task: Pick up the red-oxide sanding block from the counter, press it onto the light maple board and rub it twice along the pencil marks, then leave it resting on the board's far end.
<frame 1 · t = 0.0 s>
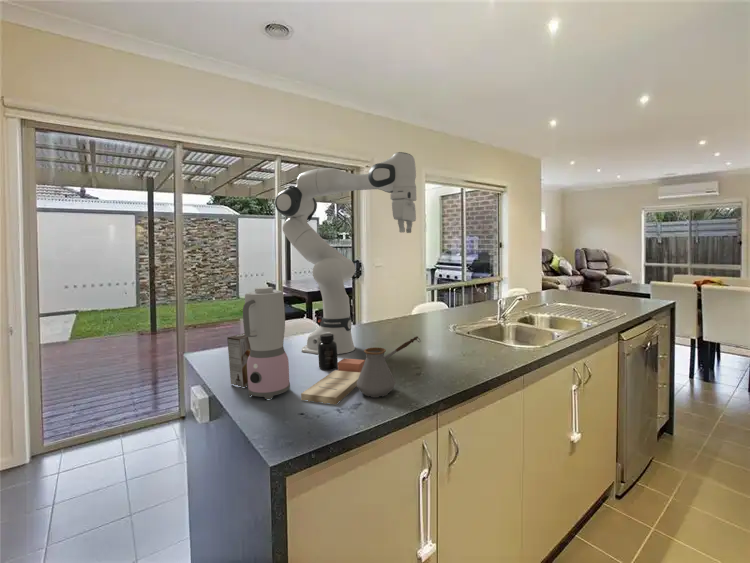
hand: (405, 232, 153), 48 cm above the counter, tool pointing down, fingers open, 8 cm apart
coffee pot: (390, 389, 120), on the counter
maple board: (335, 388, 122), on the counter
coffee box: (248, 383, 129), on the counter
supplement bottle: (328, 368, 144), on the counter
sanding block: (351, 374, 136), on the counter
blender: (266, 395, 118), on the counter
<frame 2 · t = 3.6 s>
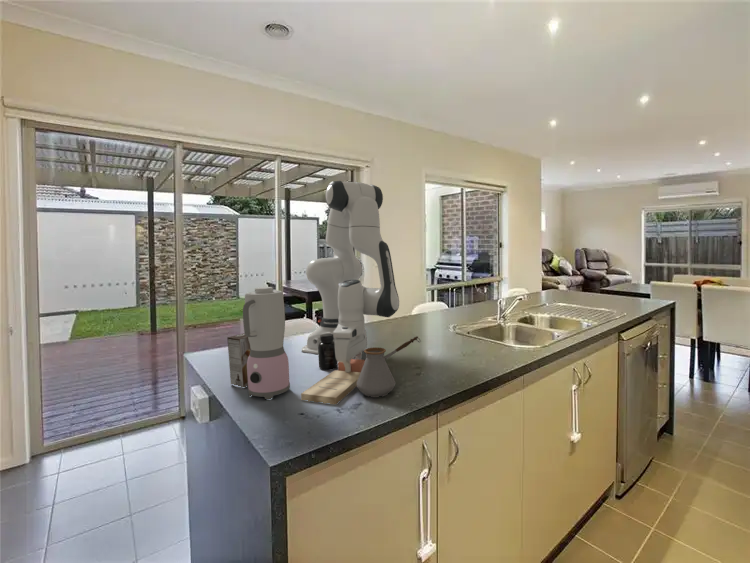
hand: (353, 368, 135), 2 cm above the counter, tool pointing down, fingers open, 7 cm apart
nothing on the counter moved.
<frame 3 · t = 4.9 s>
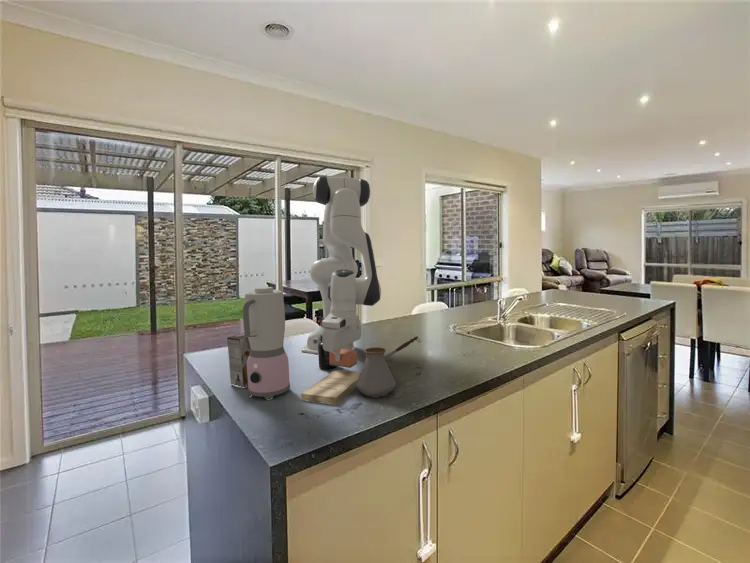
hand: (343, 357, 135), 6 cm above the counter, tool pointing down, fingers closed on sanding block, 5 cm apart
sanding block: (343, 364, 136), point 3 cm above the counter, touching gripper
everything else where it was.
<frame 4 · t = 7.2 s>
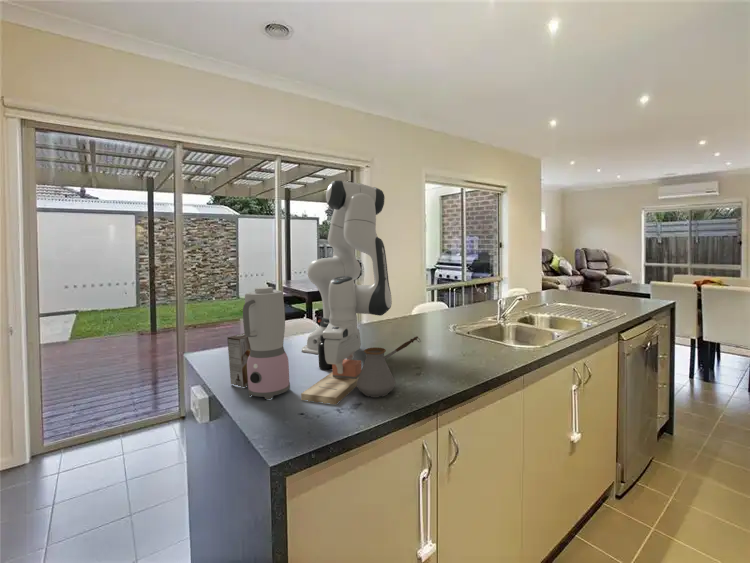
hand: (345, 369, 128), 4 cm above the counter, tool pointing down, fingers closed on sanding block, 5 cm apart
sanding block: (347, 375, 128), point 2 cm above the counter, touching gripper, maple board
everything else where it was.
when the fingers open (3 cm above the counter, at t = 15.8 s): sanding block stays where it is, resting on maple board.
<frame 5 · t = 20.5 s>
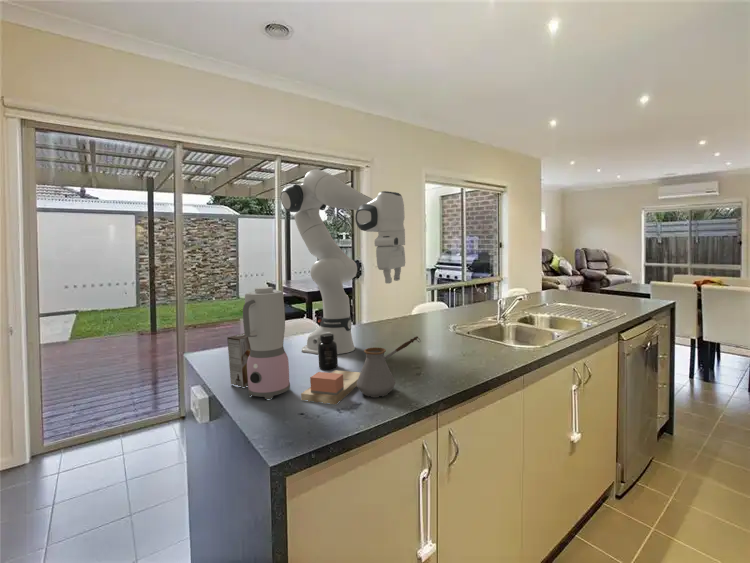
hand: (392, 281, 133), 31 cm above the counter, tool pointing down, fingers open, 8 cm apart
sanding block: (327, 390, 115), point 2 cm above the counter, touching maple board
everything else where it was.
at the end: sanding block inside the target area on the maple board (0.9 cm from its centre), point 2.0 cm above the maple board's base; sanding block tilted 0°; the gripper is holding nothing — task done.
